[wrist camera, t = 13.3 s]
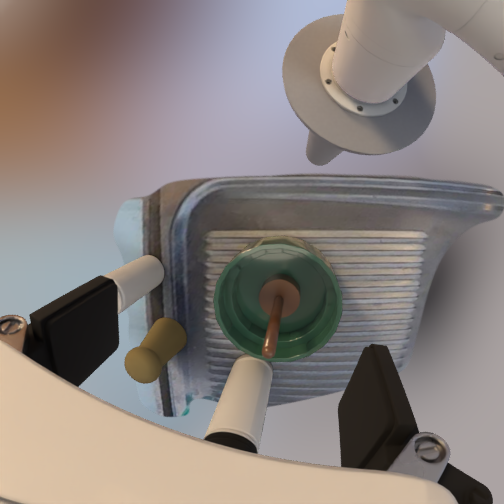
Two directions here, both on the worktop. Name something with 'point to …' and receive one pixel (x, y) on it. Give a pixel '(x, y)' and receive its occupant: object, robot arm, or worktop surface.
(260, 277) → the bowl
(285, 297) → the brown rod with base
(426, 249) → the worktop surface
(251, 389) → the travel mug
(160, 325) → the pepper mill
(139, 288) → the beverage can
